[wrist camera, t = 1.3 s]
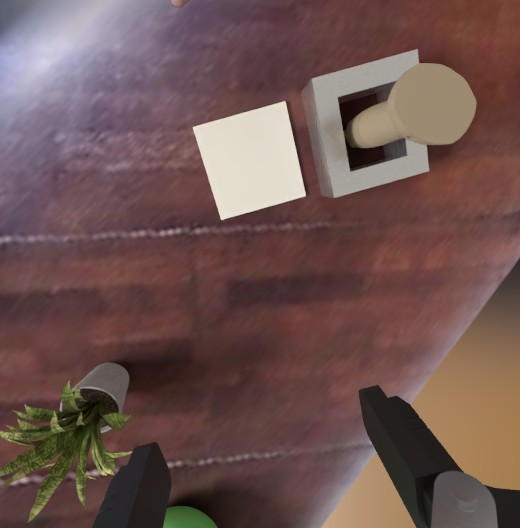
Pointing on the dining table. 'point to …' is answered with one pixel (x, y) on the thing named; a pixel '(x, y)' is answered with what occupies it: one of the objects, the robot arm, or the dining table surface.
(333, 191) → the collar
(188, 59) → the dining table surface
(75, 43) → the dining table surface
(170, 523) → the toy bird
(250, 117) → the mat
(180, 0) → the balloon
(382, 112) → the handle
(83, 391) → the house plant
